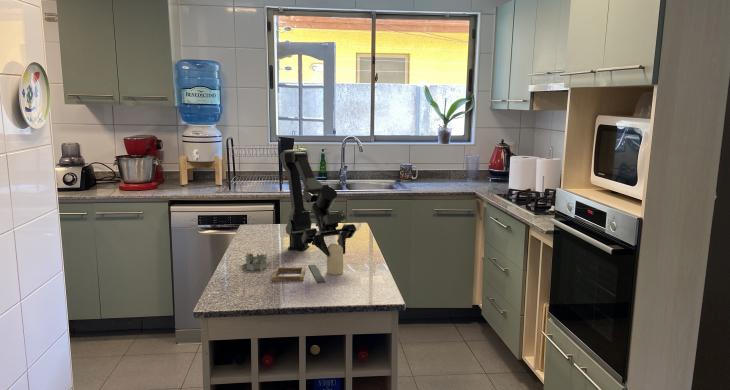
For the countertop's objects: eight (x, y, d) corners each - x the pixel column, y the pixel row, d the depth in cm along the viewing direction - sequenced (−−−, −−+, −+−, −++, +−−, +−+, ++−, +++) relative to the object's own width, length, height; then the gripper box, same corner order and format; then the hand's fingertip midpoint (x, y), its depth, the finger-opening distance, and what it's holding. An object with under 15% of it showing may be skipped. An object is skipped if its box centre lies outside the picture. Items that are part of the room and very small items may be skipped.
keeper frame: (276, 271, 176) (276, 267, 176) (305, 271, 177) (305, 267, 177) (272, 281, 167) (272, 277, 166) (303, 281, 167) (303, 276, 167)
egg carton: (246, 262, 188) (246, 251, 187) (267, 261, 189) (267, 250, 188) (245, 271, 177) (244, 260, 177) (267, 270, 179) (266, 258, 178)
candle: (345, 270, 177) (345, 242, 176) (339, 275, 172) (339, 247, 171) (330, 269, 179) (330, 241, 177) (324, 274, 174) (324, 245, 172)
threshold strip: (325, 282, 166) (325, 281, 166) (317, 283, 165) (317, 281, 165) (315, 265, 183) (315, 264, 183) (308, 266, 182) (308, 265, 182)
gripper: (304, 206, 171) (317, 246, 163) (353, 201, 179) (369, 239, 172) (295, 224, 179) (308, 263, 171) (344, 218, 188) (358, 255, 180)
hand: (336, 254), depth 173 cm, fingers closed on candle, 5 cm apart
